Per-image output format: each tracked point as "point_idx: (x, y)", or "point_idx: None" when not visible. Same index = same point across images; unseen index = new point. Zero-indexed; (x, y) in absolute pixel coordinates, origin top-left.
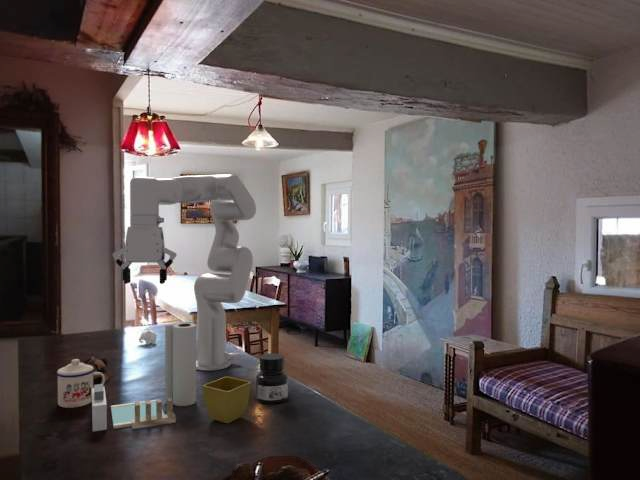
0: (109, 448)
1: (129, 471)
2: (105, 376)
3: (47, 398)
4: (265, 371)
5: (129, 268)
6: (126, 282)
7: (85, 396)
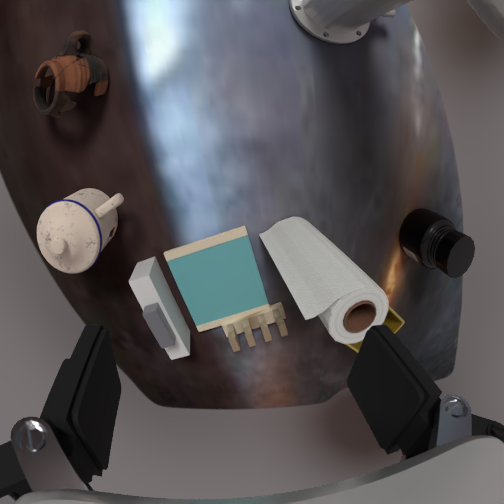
0: (213, 373)
1: (248, 405)
2: (100, 89)
3: (38, 194)
4: (436, 266)
5: (69, 425)
6: (117, 392)
7: (109, 240)
